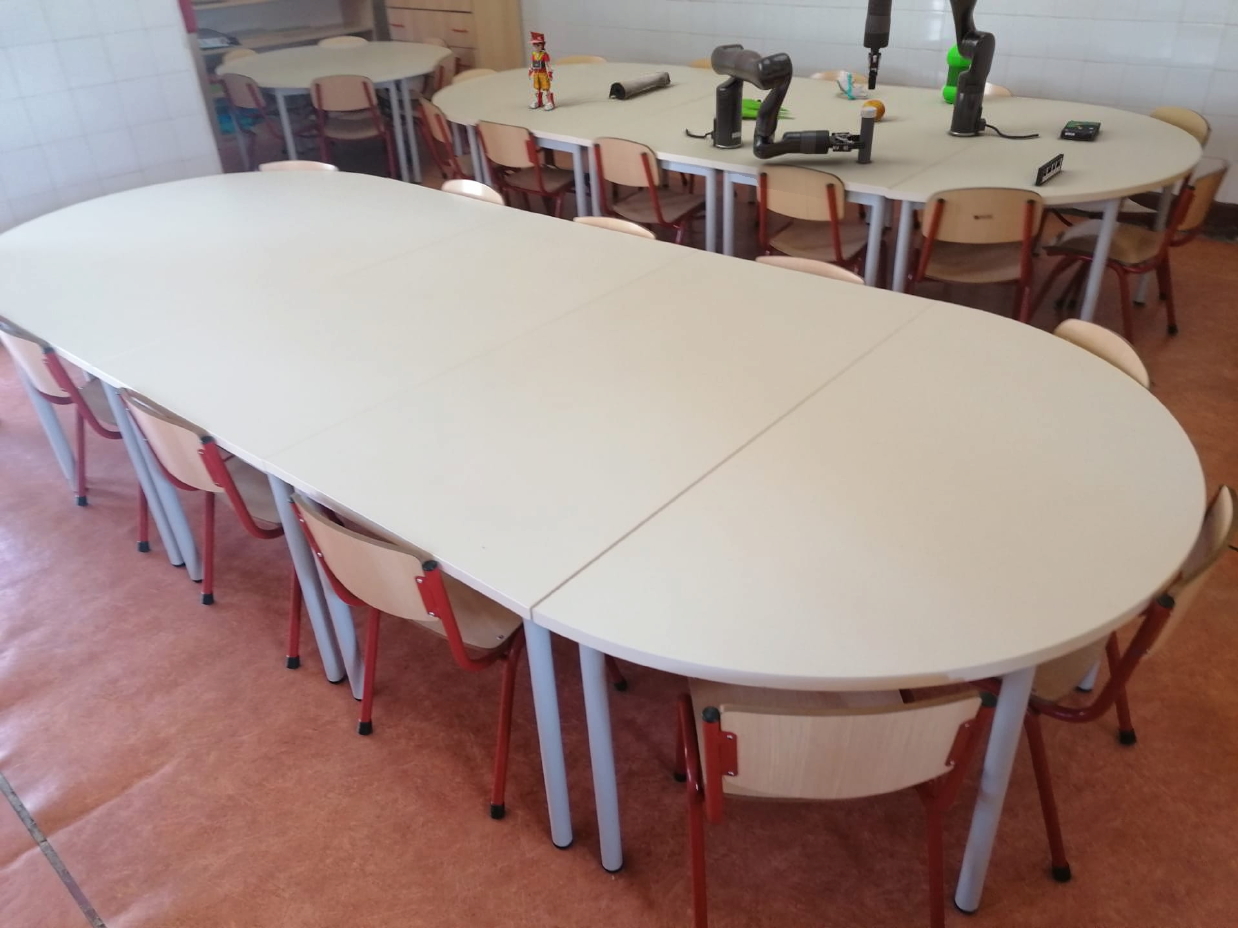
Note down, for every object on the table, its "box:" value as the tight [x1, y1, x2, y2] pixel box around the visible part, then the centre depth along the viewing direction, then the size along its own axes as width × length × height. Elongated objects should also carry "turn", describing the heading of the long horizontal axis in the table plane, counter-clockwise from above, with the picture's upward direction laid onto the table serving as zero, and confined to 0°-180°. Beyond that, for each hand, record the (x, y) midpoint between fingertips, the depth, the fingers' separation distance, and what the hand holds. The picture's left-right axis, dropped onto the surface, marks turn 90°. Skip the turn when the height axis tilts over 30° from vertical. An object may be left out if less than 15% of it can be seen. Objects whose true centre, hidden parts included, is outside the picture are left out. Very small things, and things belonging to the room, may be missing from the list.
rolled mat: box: [608, 71, 672, 101], centre depth 395 cm, size 30×9×10 cm
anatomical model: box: [836, 70, 868, 100], centre depth 369 cm, size 15×10×10 cm
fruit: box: [861, 99, 886, 122], centre depth 337 cm, size 8×8×8 cm
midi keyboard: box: [1035, 153, 1065, 186], centre depth 273 cm, size 18×1×5 cm, turn 138°
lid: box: [860, 106, 877, 118], centre depth 289 cm, size 5×5×2 cm
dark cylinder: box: [856, 117, 876, 165], centre depth 293 cm, size 4×4×16 cm
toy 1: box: [527, 31, 556, 111], centre depth 374 cm, size 12×9×30 cm
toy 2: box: [742, 98, 793, 119], centre depth 353 cm, size 28×5×30 cm
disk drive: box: [1059, 120, 1102, 141], centre depth 309 cm, size 10×3×15 cm
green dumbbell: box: [942, 43, 972, 104], centre depth 348 cm, size 10×10×25 cm
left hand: (864, 141), depth 294 cm, fingers open, 8 cm apart
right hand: (871, 86), depth 284 cm, fingers open, 7 cm apart
